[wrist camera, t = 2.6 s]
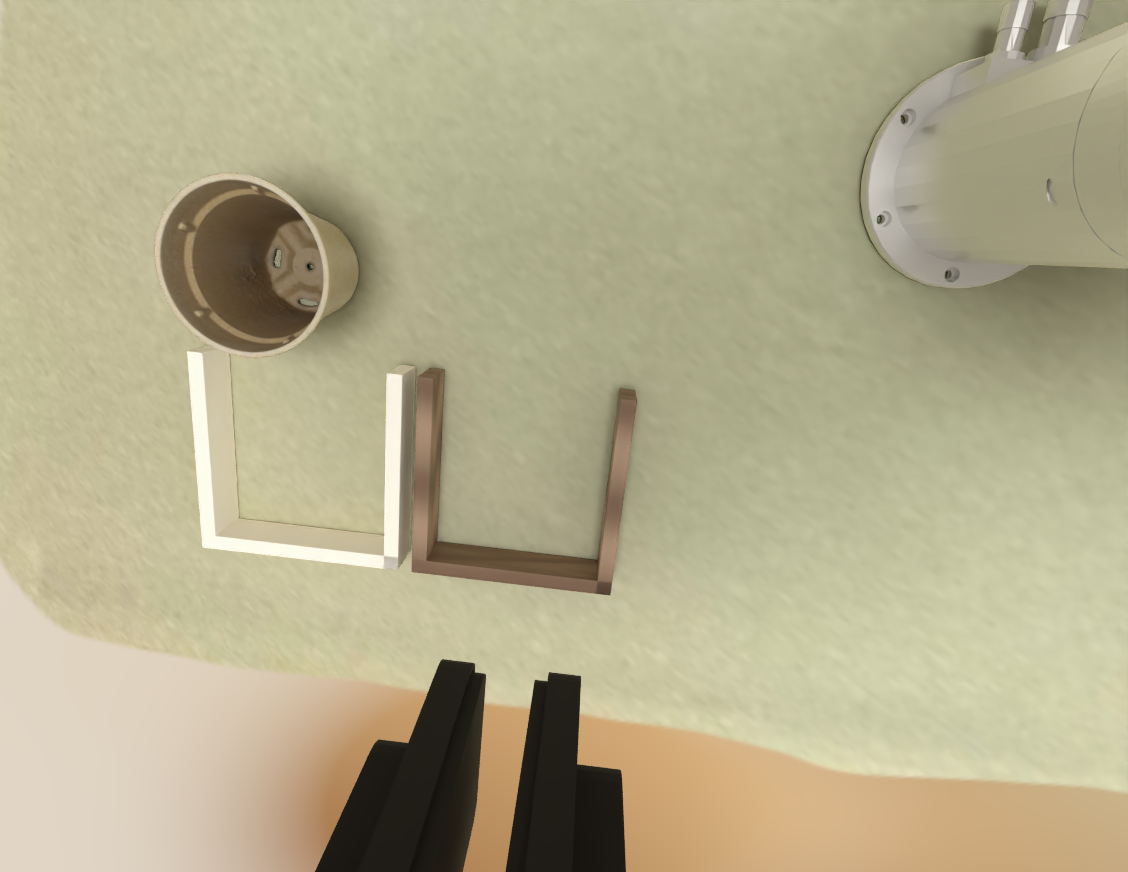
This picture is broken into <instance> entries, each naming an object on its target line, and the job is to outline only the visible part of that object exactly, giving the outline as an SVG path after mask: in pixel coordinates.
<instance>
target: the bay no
mask: <svg viewBox="0 0 1128 872" xmlns="http://www.w3.org/2000/svg"><path fill="white" fill-rule="evenodd" d="M444 372H445V370H444V369H435V368H429V369H428V370H427V371H425V372H424V373H422V374H421V375H419V376H418V384H417V417H416V449H415V481H414V514H413V546H412V572H417V573H425V574H434V575H442V576H450V577H459V578H467V579H476V580H484V581H493V582H501V583H510V584H518V585H527V586H535V587H544V588H552V589H561V590H569V591H577V592H586V593H594V594H603V595H610V593H611V586H612V579H613V571H614V564H615V557H616V550H617V542H618V535H619V528H620V521H621V513H622V506H623V499H624V492H625V484H626V477H627V470H628V463H629V455H630V448H631V441H632V434H633V426H634V419H635V412H636V404H637V399H636V394H635V390H626V389H620V391H619V399H618V407H617V415H616V422H615V430H614V438H613V446H612V453H611V461H610V469H609V477H608V485H607V492H606V500H605V508H604V516H603V523H602V531H601V539H600V547H599V555H598V560H591V559H583V558H574V557H566V556H557V555H549V554H540V553H531V552H523V551H514V550H506V549H497V548H489V547H480V546H471V545H463V544H454V543H446V542H437V532H438V509H439V486H440V463H441V440H442V418H443V395H444Z"/></svg>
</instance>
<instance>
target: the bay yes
mask: <svg viewBox="0 0 1128 872" xmlns="http://www.w3.org/2000/svg"><path fill="white" fill-rule="evenodd" d="M187 356H188V369H189V382H190V395H191V407H192V420H193V433H194V445H195V458H196V471H197V483H198V496H199V509H200V521H201V534H202V547H205V548H213V549H222V550H230V551H239V552H247V553H256V554H264V555H273V556H281V557H290V558H298V559H307V560H315V561H323V562H332V563H340V564H349V565H357V566H366V567H374V568H383V569H391V570H398V569H399V567H400V566H401V564H402V563H403V561H404V559H405V558H406V556H407V555H408V553H409V551H410V539H411V505H412V472H413V438H414V404H415V371H416V366H407V365H400V366H398V367H397V368H395V369H393V370H391V371H390V372H388V373H387V387H386V450H385V513H384V535H377V534H369V533H360V532H352V531H343V530H334V529H326V528H317V527H309V526H300V525H292V524H283V523H274V522H266V521H257V520H249V519H240V518H239V507H238V490H237V473H236V456H235V439H234V422H233V405H232V388H231V371H230V354H228V353H226V352H223V351H220V350H218V349H216V348H214V347H212V346H206V347H202V348H198V349H194V350H190V351H187Z"/></svg>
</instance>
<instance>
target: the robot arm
mask: <svg viewBox="0 0 1128 872" xmlns="http://www.w3.org/2000/svg"><path fill="white" fill-rule="evenodd" d="M1092 3H1093V0H1049V1H1048V4H1047V8H1046V11H1045V15H1044V19H1043V24H1044V26H1043V29H1042V33H1041V36H1040V40H1039V43H1038V47H1037V49H1034V50H1032V51H1029V52H1028V54H1027V57H1026V58H1025V56H1026V55H1025V53H1024V52H1020V51H1021V47H1022V44H1023V40H1024V36H1025V33H1026V32H1027V31H1028V27H1029V24H1030V20H1031V16H1032V13H1033V9H1034V6H1035V2H1034V1H1032V0H1014V1H1010V2H1008V3H1006V4H1005V5H1004V6H1003V10H1002V13H1001V17H1000V21H999V25H998V28H997V32H996V33H997V38H996V41H995V45H994V49H993V53H990V54H988V55H986V56H983V57H979V58H975V59H971V60H967V61H964V62H960V63H958V64H956V65H954V66H951V67H949V68H947V69H945V70H943V71H941V72H939V73H937V74H936V75H934V76H932V77H930V78H929V79H927V80H925V81H924V82H922V83H921V84H919V85H918V86H917V87H916V88H915V89H913V90H912V91H911V92H910V93H909V94H907V95H906V96H905V97H904V98H903V99H902V100H901V101H900V102H899V103H898V105H897V106H896V107H895V108H894V109H893V110H892V111H891V113H890V114H889V115H888V116H887V118H886V119H885V121H884V123H883V124H882V126H881V127H880V129H879V131H878V132H877V134H876V135H875V137H874V140H873V142H872V145H871V147H870V150H869V152H868V155H867V157H866V161H865V165H864V170H863V174H862V179H861V207H862V214H863V220H864V223H865V226H866V229H867V232H868V234H869V237H870V239H871V241H872V243H873V244H874V246H875V247H876V249H877V251H878V252H879V254H880V255H881V256H882V257H883V258H884V259H885V260H886V261H887V262H888V263H889V264H890V265H891V266H892V267H893V268H894V269H895V270H897V271H898V272H900V273H902V274H903V275H905V276H906V277H908V278H910V279H912V280H915V281H918V282H920V283H923V284H926V285H931V286H937V287H943V288H961V289H963V288H971V287H979V286H984V285H988V284H991V283H994V282H997V281H1000V280H1004V279H1006V278H1008V277H1010V276H1011V275H1013V274H1015V273H1017V272H1019V271H1021V270H1023V269H1025V268H1026V267H1028V266H1029V265H1049V266H1076V267H1103V268H1128V21H1127V22H1125V23H1123V24H1120V25H1118V26H1116V27H1113V28H1111V29H1109V30H1106V31H1104V32H1102V33H1099V34H1097V35H1095V36H1092V37H1090V38H1088V39H1086V40H1083V41H1081V42H1079V40H1080V37H1081V34H1082V30H1083V27H1084V24H1085V21H1087V19H1088V17H1089V13H1090V10H1091V7H1092ZM900 116H904V118H905V122H904V124H902V122H901V119H900ZM878 215H880V216H881V217H882V221H881V223H879V224H878V223H877V217H878ZM946 271H947V272H948V275H947V277H946V278H945V272H946ZM485 684H486V674H482V673H475V664H474V663H468V662H460V661H452V660H444V659H442V660H441V661H440V663H439V666H438V668H437V671H436V673H435V676H434V678H433V681H432V684H431V686H430V689H429V691H428V694H427V697H426V699H425V702H424V704H423V707H422V709H421V712H420V714H419V717H418V720H417V722H416V725H415V727H414V730H413V733H412V735H411V738H410V740H409V743H402V742H394V741H386V740H378V741H377V742H376V743H375V744H374V745H373V747H372V749H371V751H370V753H369V755H368V757H367V760H366V762H365V764H364V766H363V768H362V770H361V773H360V775H359V777H358V779H357V782H356V784H355V786H354V788H353V790H352V792H351V794H350V797H349V799H348V801H347V803H346V806H345V807H344V810H343V812H342V814H341V817H340V819H339V821H338V823H337V825H336V827H335V829H334V831H333V834H332V836H331V838H330V840H329V842H328V845H327V847H326V849H325V851H324V853H323V855H322V858H321V860H320V862H319V864H318V867H317V869H316V871H315V872H463V867H464V862H465V858H466V854H467V849H468V845H469V840H470V836H471V831H472V827H473V822H474V816H475V810H476V803H477V791H478V777H479V764H480V750H481V737H482V723H483V711H484V697H485ZM580 689H581V676H575V675H567V674H559V673H551V672H549V675H548V681H539V680H535V683H534V689H533V696H532V702H531V709H530V715H529V722H528V728H527V735H526V742H525V748H524V755H523V761H522V768H521V774H520V781H519V788H518V794H517V801H516V807H515V814H514V820H513V827H512V834H511V840H510V846H509V853H508V860H507V866H506V872H626V866H625V840H624V815H623V794H622V793H623V791H622V774H621V770H618V769H609V768H601V767H593V766H586V765H578V764H577V754H578V731H579V730H578V729H579V710H580Z"/></svg>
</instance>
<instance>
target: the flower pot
mask: <svg viewBox="0 0 1128 872" xmlns="http://www.w3.org/2000/svg"><path fill="white" fill-rule="evenodd" d="M309 228H310V230H309ZM277 248H278V249H280V250H281V252H282V254H281V264H280V266H281V267H280V268H277V267H275V266H274V262H273V261H274V257H275V255H276V254H275V251H276V250H277ZM154 254H155V266H156V271H157V276H158V280H159V283H160V286H161V288H162V290H163V293H164V296H165V298H166V300H167V302H168V304H169V305H170V308H171V309H172V311H173V312H174V313H175V315H176V316H177V317H178V319H179V320H180V321H181V322H182V324H183V325H184V326H185V327H186V328H187V329H188V330H189V331H190V332H191V333H193V334H194V335H195V336H196V337H198V338H199V339H200V340H201V341H203V342H205V343H206V344H208V345H210V346H212V347H214V348H216V349H218V350H220V351H223V352H226V353H228V354H232V355H236V356H241V357H249V358H264V357H270V356H275V355H278V354H281V353H284V352H286V351H289V350H291V349H292V348H294V347H296V346H298V345H299V344H300V343H302V342H303V341H304V340H305V339H306V338H307V337H308V336H309V335H310V334H311V333H312V332H313V331H314V330H315V328H316V327H317V326H318V324H319V322H320V320H321V319H322V318H324V317H326V316H327V315H329V314H331V313H333V312H335V311H337V310H339V309H340V308H341V307H342V306H344V305H345V304H346V303H347V302H348V301H349V300H350V298H351V297H352V295H353V293H354V291H355V289H356V286H357V283H358V277H359V267H358V260H357V256H356V253H355V251H354V249H353V247H352V245H351V244H350V242H349V240H348V239H347V238H346V236H345V235H344V234H343V232H342V231H341V230H340V229H339V228H337V227H336V226H335V225H333V224H331V223H330V222H328V221H326V220H323V219H321V218H319V217H317V216H314V215H312V214H310V213H308V212H307V211H306V210H305V209H304V208H303V207H302V206H301V205H300V204H299V203H298V202H297V201H296V200H295V199H294V198H293V197H292V196H290V195H289V194H288V193H287V192H285V191H284V190H282V189H281V188H279V187H277V186H276V185H274V184H272V183H270V182H268V181H266V180H263V179H260V178H258V177H254V176H250V175H246V174H239V173H217V174H213V175H208V176H206V177H203V178H200V179H198V180H196V181H194V182H192V183H191V184H190V185H187V186H186V187H184V188H183V189H182V190H181V191H180V192H179V193H178V194H177V195H176V196H175V197H174V198H173V199H172V200H171V202H170V203H169V204H168V206H167V208H166V209H165V211H164V213H163V214H162V217H161V219H160V222H159V226H158V228H157V232H156V236H155V246H154ZM308 264H312V265H313V267H314V268H313V269H312V270H309V269H308V268H307V265H308ZM301 298H304V299H307V300H309V301H315V302H317V303H318V306H307V305H302V304H300V303H299V301H298V300H299V299H301Z"/></svg>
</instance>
